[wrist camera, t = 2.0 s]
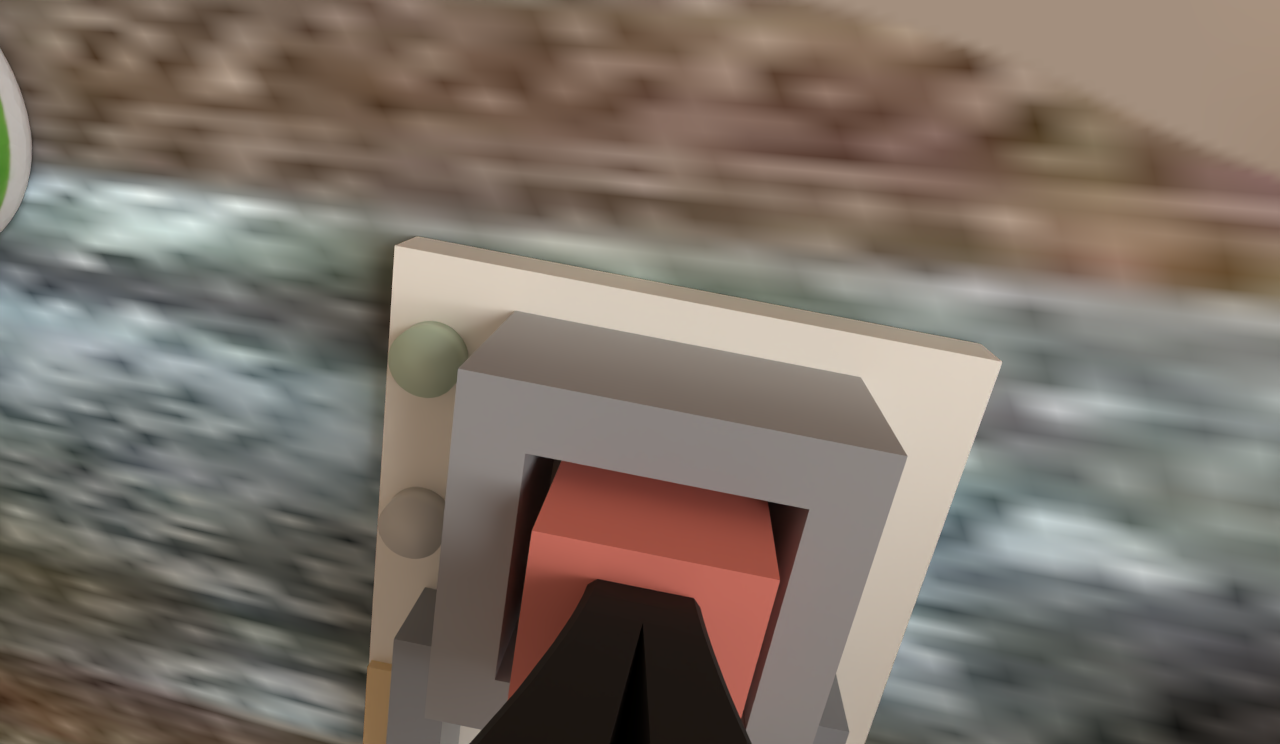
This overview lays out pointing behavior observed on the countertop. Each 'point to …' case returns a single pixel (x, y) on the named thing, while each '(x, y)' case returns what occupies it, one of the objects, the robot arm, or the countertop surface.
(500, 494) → the panel
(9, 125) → the supplement bottle
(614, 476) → the plunger
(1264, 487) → the countertop surface
